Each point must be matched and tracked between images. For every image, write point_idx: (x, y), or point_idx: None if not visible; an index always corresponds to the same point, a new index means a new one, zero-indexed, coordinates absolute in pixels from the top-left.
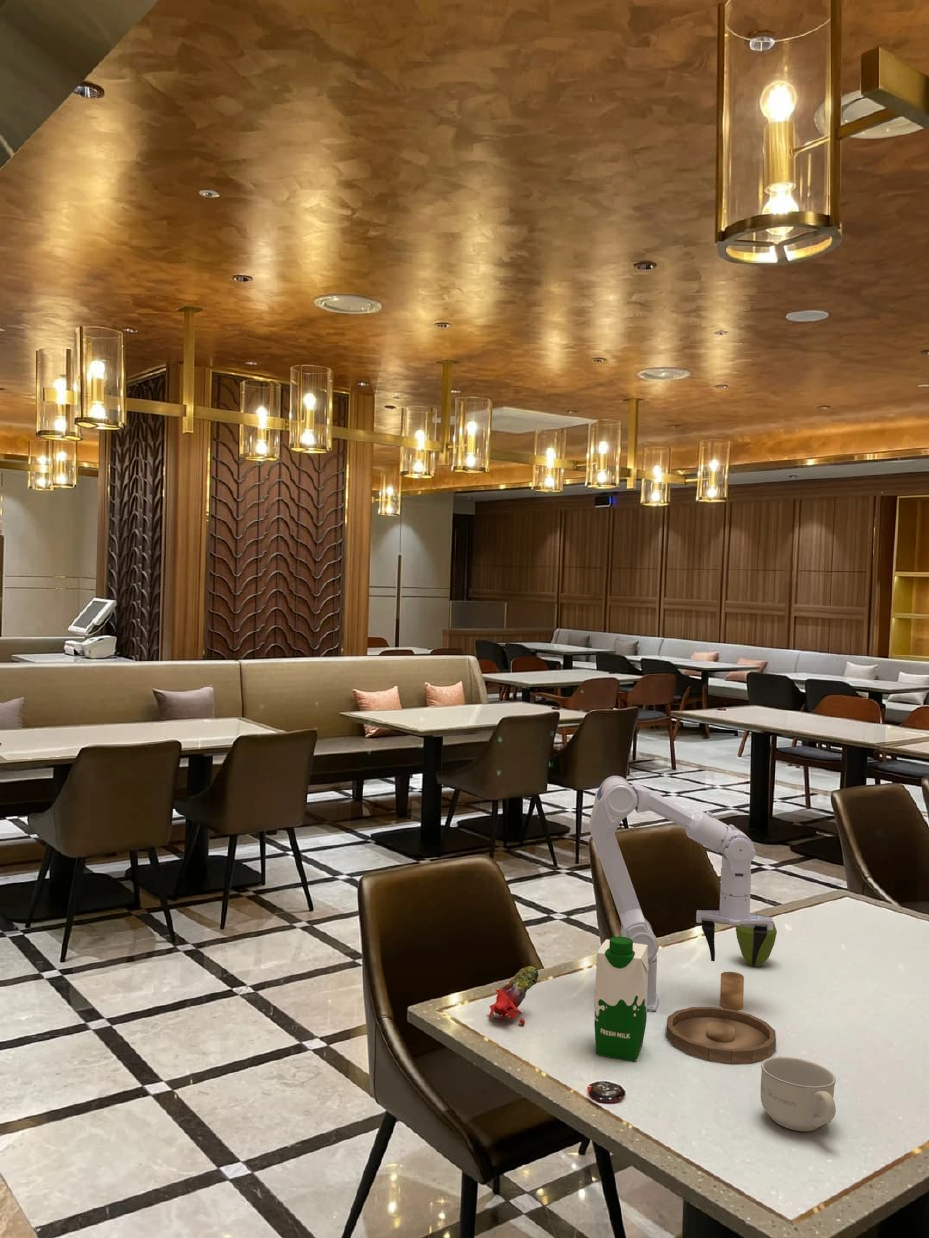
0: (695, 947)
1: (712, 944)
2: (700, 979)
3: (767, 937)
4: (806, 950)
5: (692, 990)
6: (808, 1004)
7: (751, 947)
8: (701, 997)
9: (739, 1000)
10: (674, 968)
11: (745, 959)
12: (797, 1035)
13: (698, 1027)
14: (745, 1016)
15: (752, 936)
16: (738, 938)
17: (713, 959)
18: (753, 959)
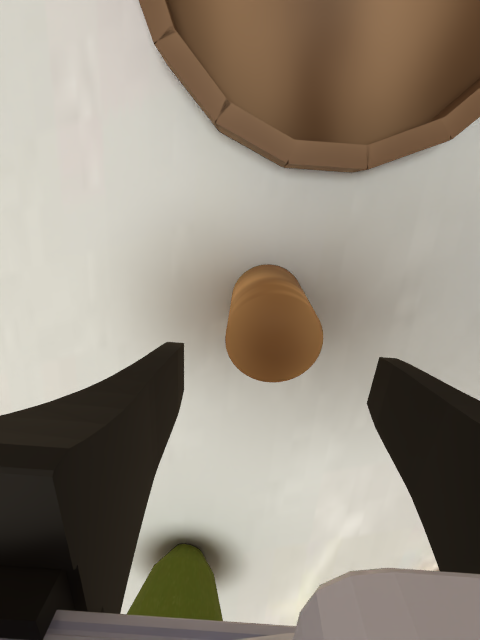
0: None
1: (463, 403)
2: (329, 456)
3: None
4: None
5: (366, 384)
6: (49, 362)
7: (187, 591)
8: (349, 341)
9: (245, 279)
10: (384, 504)
11: (206, 562)
12: (56, 86)
13: (434, 7)
14: (236, 106)
15: None
16: None
17: (391, 359)
18: (166, 351)
